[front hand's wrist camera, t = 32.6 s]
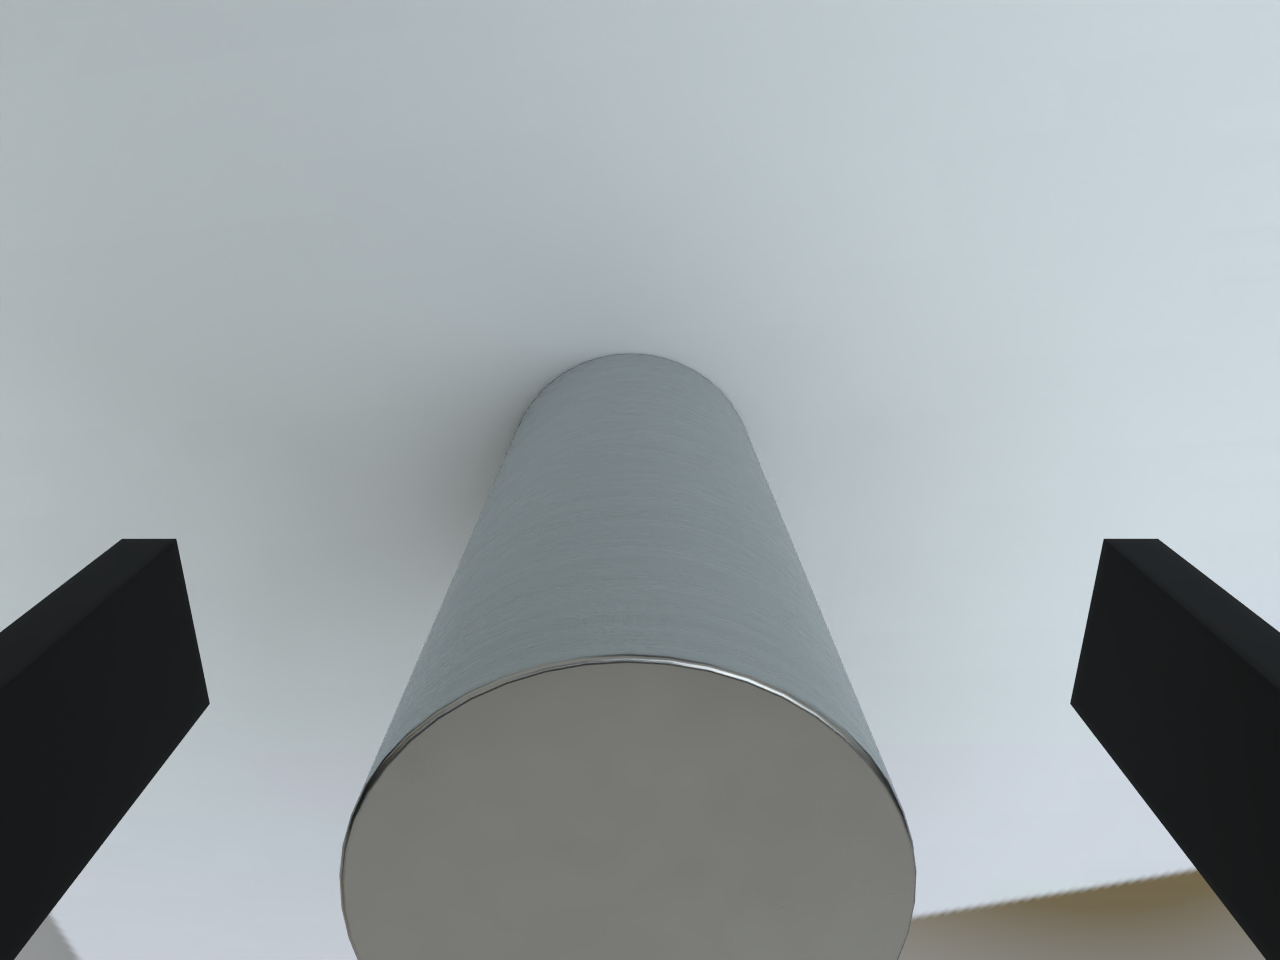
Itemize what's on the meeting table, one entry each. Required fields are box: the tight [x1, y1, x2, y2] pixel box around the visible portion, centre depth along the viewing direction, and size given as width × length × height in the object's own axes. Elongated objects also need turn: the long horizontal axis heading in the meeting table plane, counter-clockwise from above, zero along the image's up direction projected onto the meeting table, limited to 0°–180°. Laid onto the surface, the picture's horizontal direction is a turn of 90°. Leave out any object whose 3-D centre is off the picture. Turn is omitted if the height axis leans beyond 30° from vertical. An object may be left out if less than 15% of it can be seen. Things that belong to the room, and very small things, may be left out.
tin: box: [340, 354, 916, 960], centre depth 14 cm, size 6×6×13 cm
